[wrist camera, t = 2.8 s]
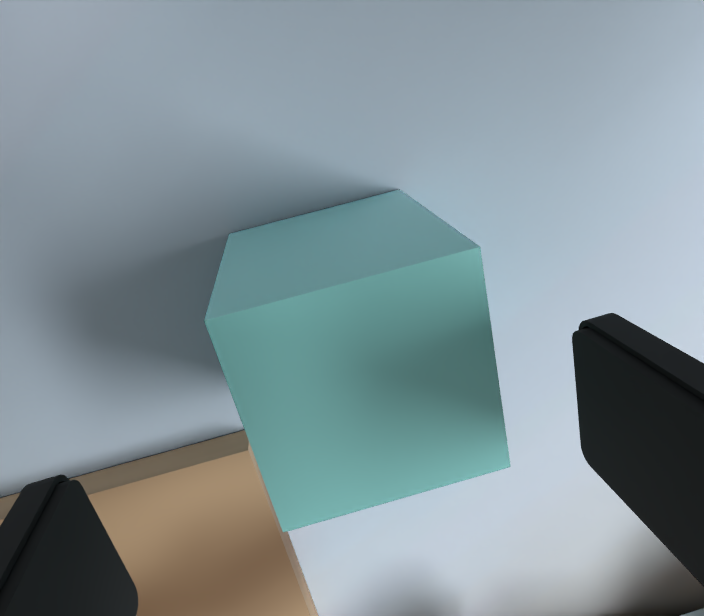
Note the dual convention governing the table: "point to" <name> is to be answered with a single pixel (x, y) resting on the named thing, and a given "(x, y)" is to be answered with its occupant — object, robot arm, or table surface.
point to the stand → (198, 532)
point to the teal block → (358, 356)
